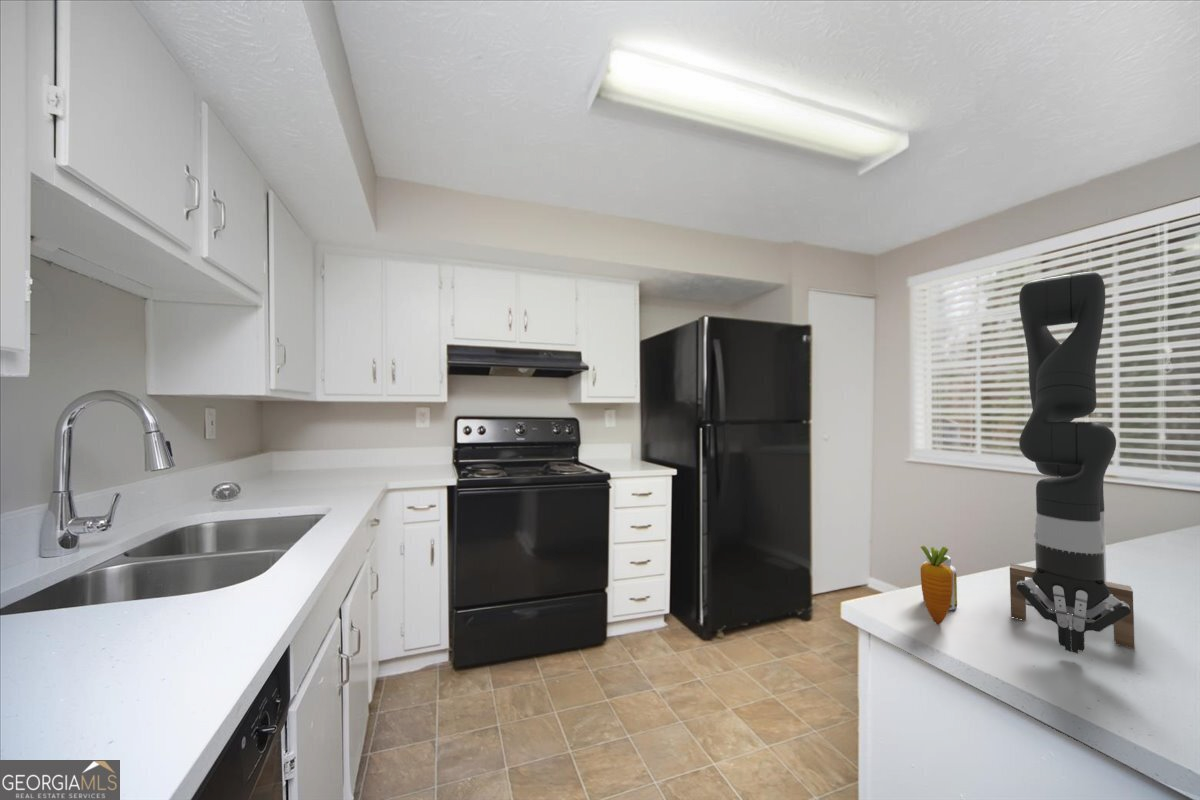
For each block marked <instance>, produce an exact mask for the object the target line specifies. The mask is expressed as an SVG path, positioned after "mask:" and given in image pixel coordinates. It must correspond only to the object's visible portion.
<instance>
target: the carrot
mask: <svg viewBox="0 0 1200 800" xmlns="http://www.w3.org/2000/svg"><path fill="white" fill-rule="evenodd" d="M920 548H921V550H922V551H923V553H924V554H925V556H926V558H928V559H929V561H930V562H926V561H925V562H926V563H924V562H923V563H924V564H923V563H922V564H923V565H921V566H920V581H921V583H920V584H921V592H922V597H924V599H923V602H924V604H925V607H926V610H927V612H928V614H929V615H930V617H931V620H932V621H933V623H935V624H936V625H941V624H942V623H943V622H944V620H945V619H946V616H947V615H948V612H949V611H950V610H949V607H950V603H951V598H952V589H953V572H952V570H951V569H950V568H949V567H947V566H945V565H943V564H941V563H943V562H944V561H946V560H947V559H948V557H944V556H945V555H946V554H947V553H948V551H949V549H948V548H947V546H945V545H943V546H942V547H941V549H940V550H939V549H935V547H930V551H929V549H928V548H927V547H926V546H925V545H921V546H920ZM930 553H931V554H932V557H931V555H930ZM938 553H939V554H938Z"/></svg>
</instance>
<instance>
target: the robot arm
mask: <svg viewBox="0 0 1200 800" xmlns="http://www.w3.org/2000/svg"><path fill="white" fill-rule="evenodd" d="M1018 297H1019V298H1018V299H1019V300H1018V304H1019V311H1020V312H1019V313H1020V318H1021V324H1022V328H1023V334H1024V339H1025V344H1026V345H1025V346H1026V350H1027V362H1028V383H1029V394H1030V400H1031V402H1030V403H1031V406H1032V412H1031V414H1030V416H1029V417H1028V420H1027V422H1026V424H1025V425H1024V427H1023V429H1022V432H1021V433H1020V437H1019V443H1018V444H1019V450H1020V452H1021V453H1022V455H1023V456H1024V457H1025V458H1026V459H1027V460H1029V461H1031V462H1034V464H1035V467H1036V469H1037V471H1038V472H1039V473H1040V474H1042V475H1044V476H1048V477H1049V478H1041V479H1040V480H1038V481H1037V482H1036V487H1035V497H1036V498H1035V499H1036V516H1035V523H1034V534H1033V535H1034V539H1035V540H1034V541H1035V568H1036V570H1035V572H1034V573H1033V574H1032V578H1027V579H1025V581H1022V580H1019V581H1018V582H1017V589H1018V590H1019V592H1020V593H1021V594H1022V595H1023V596H1024V597H1025V598H1026V599H1027V600H1028V601H1029V603H1030V604H1031V605H1032V607H1033V608H1034V609H1035V610H1036V611H1037V612H1038V614H1039V615H1040V616H1041V617H1042V618H1043V619H1044V620H1046V621H1051V622H1052V623H1054V624H1056V626H1057V635H1058V636H1057V637H1058V643H1059V646H1062V647H1064V651H1067V652H1070V653H1071V652H1072V653H1073V654H1079V651H1081V652H1084V651H1085V646H1086V645H1085V633H1086V632H1088V631H1091V632H1092V631H1093V632H1095V633H1100V632H1102V631H1103V630H1105V629H1106V628H1108V627H1109V626H1111V625H1113V623H1115V622H1117V621H1118V620H1120V619H1122V618H1123V617H1125V616H1127V615H1128V614H1130V613H1131V610H1130V608H1129V605H1128V604H1127V603H1126V602H1124V601H1120V600H1118V599H1117V598H1115V597H1114V596H1113V594H1110V591H1109V588H1108V587H1107V586H1106V584H1105V581H1106V582H1108V581H1107V554H1106V553H1107V552H1106V548H1107V547H1106V520H1105V519H1106V518H1105V517H1106V516H1105V499H1104V497H1105V496H1104V482H1105V481H1104V480H1105V479H1104V477H1105V476H1106V475H1105V474H1106V471H1107V470H1108V467H1109V465H1110V463H1111V461H1112V459H1113V456H1114V455H1115V451H1116V448H1117V438H1116V436H1115V433H1114V432H1113V431H1112V430H1111V428H1109V427H1108V426H1106V425H1104V424H1102V423H1099V422H1091V421H1090V422H1084V421H1077V422H1075V421H1074V420H1075V419H1079V418H1084V417H1086V416H1089V415H1091V414H1092V413H1093V412H1095V410H1096V407H1097V381H1096V380H1097V378H1096V368H1097V367H1096V366H1097V360H1098V359H1097V358H1098V352H1099V348H1100V343H1101V338H1102V334H1103V333H1102V332H1103V326H1104V318H1105V311H1106V310H1105V309H1106V287H1105V281H1104V280H1103V276H1102V275H1101V274H1099V273H1098V272H1094V271H1087V272H1078V273H1077V272H1076V273H1072V274H1065V275H1064V274H1063V275H1059V276H1054V277H1053V276H1052V277H1047V278H1041V279H1040V278H1039V279H1035V280H1031V281H1028V282H1026V283H1025V284H1023V286H1022V287H1021V288H1020V291H1019V296H1018ZM1074 323H1075V324H1076V325H1075V327H1074V328H1073V330H1072V332H1071V333H1070V334H1069V335H1068V337H1067V338H1066V339H1064V340H1063V342H1062V343H1061V342H1059V341H1058V340H1057V339H1056V338H1055V337H1054V336H1053V334H1052V333H1051V331H1050V330H1049V328H1048V326H1055V325H1056V326H1057V325H1066V324H1067V325H1068V324H1074ZM1073 421H1074V422H1073ZM1036 586H1037V588H1040V590H1041V591H1042V592H1043V593H1044V594H1045V595H1046V596H1047V597H1048V599H1049V600H1051V601H1052V602H1054V603H1055V608H1056V611H1053V610H1051V609H1050V608H1049V607H1048V606H1047V605H1046V604H1045V603H1044V602H1043V601H1042V600H1041V599H1040V597H1039V596H1038V595H1037V594H1036V593H1037V588H1036ZM1105 600H1106V601H1105ZM1102 601H1103V602H1106V603H1105V607H1106V609H1105V610H1103V611H1102V612H1100V613H1098V614H1097V615H1095V616H1093V617H1092V618H1090V619H1087V618H1086V610H1089V609H1092V608H1094V607H1095V606H1096V605H1098V604H1099V603H1101V602H1102ZM1031 605H1030V606H1031ZM1066 606H1070V607H1073V615H1072V619H1071V623H1072V625H1071V624H1069V619H1068V614H1067V610H1066Z"/></svg>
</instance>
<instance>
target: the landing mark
mask: <svg viewBox="0 0 1200 800" xmlns="http://www.w3.org/2000/svg"><path fill="white" fill-rule="evenodd" d="M1035 587H1036V586H1035ZM1036 588H1037V593H1036V594H1037V595H1038V596H1039V597H1040V599H1041V600H1042V601H1043V602H1044V603H1045V604H1046V605H1047V606H1048V607H1049V608H1050V609H1052V611H1053V610H1056V608H1055V603H1054V602H1052V601H1051V600H1049V599H1048V597H1047V596H1046V595H1045V594H1044V593H1043V592H1042V591H1041V590H1040V588H1039V587H1038V586H1037V587H1036ZM1105 603H1106V601H1102V602H1101V603H1099V604H1098V605H1096V606H1095V607H1094V608H1092V609H1089V610H1086V618H1085V619H1087V618H1089V619H1090V618H1092V617H1093V616H1095V615H1097V614H1098V613H1100V612H1102V611H1103V610H1105V609H1106V607H1105ZM1027 604H1030V603H1029V601H1028V600H1027V599H1026V605H1027ZM1029 606H1031V604H1030V605H1029ZM1066 610H1067V613H1069V614H1068V615H1070V614H1073V607H1070V606H1066ZM1112 625H1113V626H1114V623H1113V624H1112Z"/></svg>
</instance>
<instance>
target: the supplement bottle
mask: <svg viewBox="0 0 1200 800" xmlns="http://www.w3.org/2000/svg"><path fill="white" fill-rule="evenodd" d="M929 553H930V555H931V557H932V554H931V552H929ZM938 554H939V553H938ZM944 557H948V559H947V560H946V561H944V562H943V563H941V564H943V565H945V566H947V567H949V568H950V569H951V570H952V572H953V589H952V598H951V603H950V607H949V610H948V611H952V610H956V609H958V586H957V585H958V584H957V582H958V581H957V569H956V568H955V566H953V565H952V558H951V557H950V556H949V555H945V556H944ZM926 562H930V561H929V559H928V558H927V557H926V561H924V562H923V563H922V565H923V564H924V563H926ZM922 565H921V566H922ZM922 597H923V596H922ZM923 600H924V597H923Z"/></svg>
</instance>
